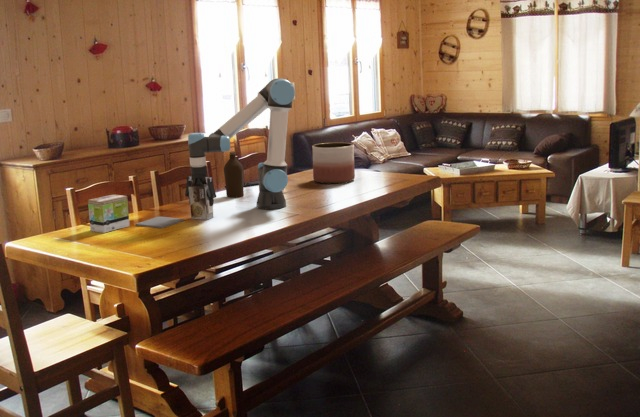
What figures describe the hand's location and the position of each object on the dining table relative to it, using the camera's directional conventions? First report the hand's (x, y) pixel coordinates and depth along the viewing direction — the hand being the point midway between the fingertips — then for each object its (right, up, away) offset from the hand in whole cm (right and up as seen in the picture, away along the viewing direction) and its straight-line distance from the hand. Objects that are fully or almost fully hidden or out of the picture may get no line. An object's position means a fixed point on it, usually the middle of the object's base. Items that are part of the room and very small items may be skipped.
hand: (201, 211), depth 325 cm
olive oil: (+10, +8, +51) cm, 53 cm away
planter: (+66, +18, +88) cm, 111 cm away
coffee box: (0, -3, +1) cm, 3 cm away
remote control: (+15, +15, +84) cm, 87 cm away
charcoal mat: (-19, -5, -6) cm, 20 cm away
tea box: (-40, -8, -13) cm, 43 cm away
